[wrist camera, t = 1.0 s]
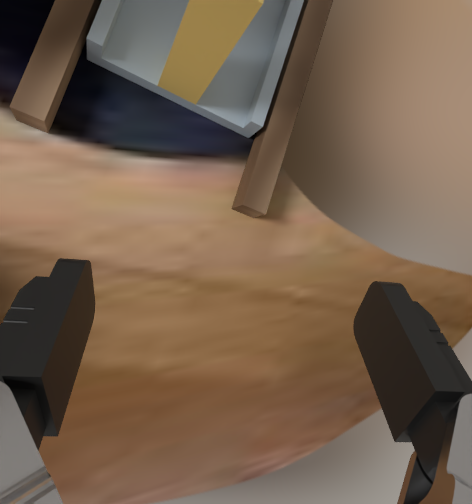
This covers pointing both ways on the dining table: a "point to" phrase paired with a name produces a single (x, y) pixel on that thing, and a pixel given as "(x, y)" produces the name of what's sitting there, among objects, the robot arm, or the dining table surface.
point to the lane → (267, 138)
